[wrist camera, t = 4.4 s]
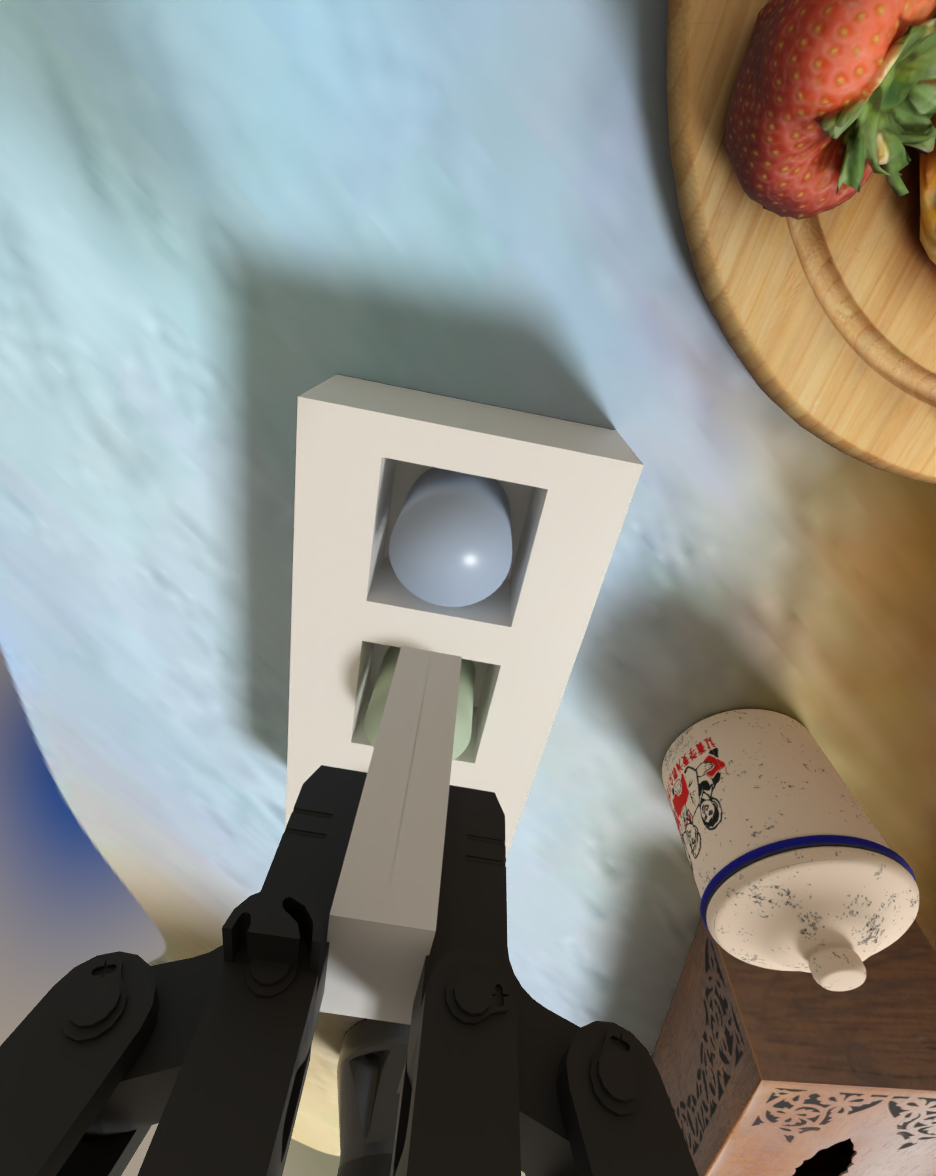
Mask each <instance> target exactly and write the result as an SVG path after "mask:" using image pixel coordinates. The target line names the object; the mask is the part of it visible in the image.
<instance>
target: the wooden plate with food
mask: <svg viewBox="0 0 936 1176" xmlns="http://www.w3.org/2000/svg"><path fill="white" fill-rule="evenodd" d="M667 107H668V131H669V152H670V158H671V164H672V169H673V175H674V181H675V187H676V193H677V199H678V205H679V210H680V216H681V221H682V224H683V228H684V232H685V236H686V240H687V244H688V247H689V251H690V255H691V259H692V263H693V267H694V270H695V273H696V275H697V278H698V281H699V283H700V286H701V288H702V291H703V293H704V296H705V298H706V300H707V302H708V304H709V306H710V308H711V310H712V312H713V314H714V316H715V318H716V320H717V322H718V324H719V326H720V328H721V330H722V332H723V333H724V335H725V337H726V338H727V340H728V342H729V343H730V345H731V347H732V348H733V350H734V352H735V353H736V355H737V356H738V358H739V359H740V360H741V362H742V363H743V365H744V366H745V367H746V369H747V370H748V372H749V373H750V375H751V376H752V377H753V379H754V380H755V382H756V383H757V384H758V386H759V387H760V388H761V389H762V390H763V391H764V393H765V394H766V395H767V396H768V397H769V398H770V399H771V400H772V401H773V402H774V403H776V404H777V405H778V406H779V407H780V408H781V409H782V410H783V411H784V412H786V413H787V414H788V415H789V416H790V417H791V418H792V419H793V420H794V421H796V422H797V423H798V424H799V425H800V426H801V427H803V428H804V429H806V430H807V431H809V432H810V433H812V434H813V435H815V436H816V437H818V438H819V439H821V440H822V441H824V442H825V443H827V444H829V445H830V446H832V447H834V448H836V449H837V450H839V451H841V452H843V453H845V454H847V455H849V456H851V457H853V458H855V459H857V460H860V461H862V462H864V463H866V464H868V465H870V466H873V467H875V468H877V469H880V470H883V471H887V472H890V473H893V474H897V475H900V476H903V477H907V478H910V479H913V480H918V481H922V482H926V483H930V484H936V0H668V10H667Z"/></svg>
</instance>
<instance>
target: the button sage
mask: <svg viewBox="0 0 936 1176" xmlns="http://www.w3.org/2000/svg"><path fill="white" fill-rule="evenodd" d="M400 649H401V648H400V647H394V646H390V647H389V649H388V650H387V651H386V653H385V655H384V657H383V660H382V664H381V667H380V670H379V673H378V677H377V680H376V683H375V686H374V690H373V693H372V696H371V699H370V703H369V706H368V709H367V712H366V716H365V720H364V727H365V733H366V736H367V738H368V740H369V742H370V743H371V745H372V746H373V747H375V743H376V739H377V735H378V732H379V728H380V724H381V720H382V717H383V713H384V709H385V705H386V702H387V698H388V694H389V690H390V687H391V683H392V679H393V675H394V672H395V668H396V664H397V661H398V657H399V653H400ZM474 682H475V668H474V664H473V661H472V660H467V659H461V669H460V680H459V691H458V701H457V712H456V722H455V733H454V744H453V754H452V761H453V760H455V759H456V758H457V757H459V756H460V755H461V754H462V753H463V752H464V751H465V749H466V748H467V746H468V744H469V742H470V739H471V730H472V714H473V698H474Z"/></svg>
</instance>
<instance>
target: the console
mask: <svg viewBox="0 0 936 1176" xmlns="http://www.w3.org/2000/svg"><path fill="white" fill-rule="evenodd" d="M643 466H644V465H643V463H642V462H641V461H640V460H639V458H638V457H637V456H636V455H635V453H634V452H633V451H632V450H631V448H630V447H629V446H628V444H627V443H626V442H625V441H624V439H623V438H622V437H621V436H620V434H619V433H618V432H617V431H616V430H611V429H606V428H601V427H596V426H591V425H586V424H581V423H576V422H571V421H566V420H561V419H556V418H551V417H546V416H541V415H536V414H531V413H526V412H521V411H516V410H511V409H506V408H501V407H496V406H491V405H486V404H481V403H476V402H471V401H466V400H461V399H456V398H451V397H446V396H441V395H436V394H431V393H426V392H421V391H417V390H412V389H407V388H402V387H397V386H392V385H387V384H382V383H377V382H372V381H367V380H362V379H357V378H352V377H347V376H342V375H337V374H336V375H334V376H333V377H331V378H329V379H327V380H326V381H324V382H322V383H320V384H319V385H317V386H315V387H313V388H312V389H310V390H308V391H306V392H305V393H303V394H301V395H299V396H298V404H297V439H296V474H295V509H294V544H293V580H292V615H291V650H290V685H289V721H288V756H287V791H286V826H287V823H288V821H289V818H290V816H291V813H292V812H293V809H294V806H295V803H296V800H297V798H298V795H299V793H300V790H301V788H302V785H303V783H304V782H305V781H306V780H307V779H308V778H309V777H310V776H311V775H312V774H313V773H314V772H315V771H316V770H317V769H318V768H319V767H320V766H321V765H324V766H330V767H336V768H342V769H348V770H354V771H360V772H366V773H368V769H369V765H370V762H371V758H372V754H373V750H374V747H373V746H372V745H371V743H370V742H369V740H368V738H367V736H366V733H365V727H364V720H365V716H366V712H367V709H368V706H369V703H370V699H371V696H372V693H373V690H374V686H375V683H376V680H377V677H378V673H379V670H380V667H381V664H382V660H383V657H384V655H385V653H386V651H387V650H388V649H389V647H390V646H394V647H400V648H401V646H405V647H410V648H416V649H421V650H427V651H433V652H438V653H444V654H450V655H455V656H461V657H462V659H467V660H472V661H473V664H474V668H475V682H474V698H473V714H472V730H471V739H470V742H469V744H468V746H467V748H466V749H465V751H464V752H463V753H462V754H461V755H460V756H459V757H457V758H456V759H455V760H453V761H452V765H451V775H450V785H453V786H459V787H465V788H471V789H477V790H483V791H489V792H495V794H496V797H497V799H498V801H499V803H500V805H501V808H502V810H503V812H504V814H505V846H506V857H507V855H508V852H509V849H510V846H511V843H512V840H513V837H514V835H515V832H516V829H517V826H518V823H519V820H520V817H521V814H522V812H523V809H524V806H525V803H526V800H527V797H528V794H529V792H530V789H531V786H532V783H533V780H534V777H535V774H536V772H537V769H538V766H539V763H540V760H541V757H542V754H543V752H544V749H545V746H546V743H547V740H548V737H549V734H550V732H551V729H552V726H553V723H554V720H555V717H556V714H557V712H558V709H559V706H560V703H561V700H562V697H563V694H564V692H565V689H566V686H567V683H568V680H569V677H570V674H571V671H572V669H573V666H574V663H575V660H576V657H577V654H578V651H579V649H580V646H581V643H582V640H583V637H584V634H585V631H586V629H587V626H588V623H589V620H590V617H591V614H592V611H593V609H594V606H595V603H596V600H597V597H598V594H599V591H600V589H601V586H602V583H603V580H604V577H605V574H606V571H607V569H608V566H609V563H610V560H611V557H612V554H613V551H614V549H615V546H616V543H617V540H618V537H619V534H620V531H621V528H622V526H623V523H624V520H625V517H626V514H627V511H628V508H629V506H630V503H631V500H632V497H633V494H634V491H635V488H636V486H637V483H638V480H639V477H640V474H641V471H642V468H643ZM434 467H436V468H441V469H446V470H451V471H456V472H461V473H466V474H472V475H477V476H482V477H487V478H492V479H496V480H497V481H498V482H499V483H500V485H501V486H502V488H503V489H504V491H505V493H506V495H507V498H508V501H509V505H510V517H511V537H512V561H511V566H510V569H509V572H508V574H507V576H506V578H505V580H504V581H503V583H502V584H501V586H500V587H499V588H498V589H497V590H496V591H495V592H494V593H492V594H491V595H490V596H488V597H487V598H485V599H483V600H481V601H479V602H477V603H474V604H471V605H467V606H461V607H445V606H439V605H435V604H432V603H429V602H426V601H424V600H422V599H420V598H418V597H417V596H415V595H414V594H412V593H411V592H410V591H409V590H408V589H406V587H405V586H404V585H403V584H402V583H401V582H400V580H399V579H398V578H397V576H396V574H395V572H394V570H393V567H392V565H391V561H390V556H389V542H390V537H391V534H392V531H393V528H394V526H395V523H396V521H397V519H398V516H399V514H400V512H401V509H402V507H403V505H404V502H405V500H406V498H407V495H408V493H409V491H410V489H411V487H412V486H413V484H414V483H415V481H416V480H417V479H418V478H419V477H420V476H421V475H422V474H424V473H425V472H426V471H428V470H430V469H432V468H434ZM286 826H285V830H286Z"/></svg>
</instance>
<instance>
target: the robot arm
mask: <svg viewBox="0 0 936 1176" xmlns="http://www.w3.org/2000/svg"><path fill="white" fill-rule="evenodd" d="M461 659H462V657H461V656H455V655H450V654H444V653H438V652H433V651H427V650H421V649H416V648H410V647H405V646H401V649H400V653H399V657H398V661H397V664H396V668H395V672H394V675H393V679H392V683H391V687H390V690H389V694H388V698H387V702H386V705H385V709H384V713H383V717H382V720H381V724H380V728H379V732H378V735H377V739H376V743H375V747H374V750H373V754H372V758H371V762H370V765H369V769H368V773H366V772H360V771H354V770H348V769H342V768H336V767H330V766H324V765H321V766H320V767H319V768H318V769H317V770H316V771H315V772H314V773H313V774H312V775H311V776H310V777H309V778H308V779H307V780H306V781H305V782H304V783H303V785H302V788H301V790H300V793H299V795H298V798H297V800H296V803H295V806H294V809H293V812H292V813H291V816H290V818H289V821H288V823H287V826H286V830H285V833H284V834H283V836H282V839H281V841H280V844H279V846H278V849H277V851H276V854H275V857H274V859H273V862H272V864H271V867H270V869H269V872H268V874H267V877H266V879H265V882H264V885H263V887H262V890H261V892H259V893H256V894H254V895H251V896H250V897H248V898H247V899H246V900H245V901H244V902H242V903H241V904H240V905H239V906H237V907H236V908H235V909H234V910H233V912H232V913H231V915H230V916H229V918H228V919H227V921H226V923H225V924H224V926H223V927H222V934H223V945H222V946H220V947H218V948H217V949H215V950H213V951H211V952H209V953H206V954H203V955H200V956H197V957H194V958H189V959H184V960H179V961H174V962H169V963H164V964H159V965H154V966H150V965H149V964H147V963H146V962H145V961H144V960H143V959H142V958H141V957H139V956H138V955H135V954H129V953H124V952H114V953H109V954H104V955H99V956H96V957H94V958H92V959H90V960H88V961H86V962H84V963H82V964H80V965H79V966H77V967H75V968H74V969H72V970H71V971H70V972H69V973H68V974H67V975H66V976H64V977H63V978H62V979H61V980H60V981H59V982H58V983H57V984H55V985H54V986H53V987H52V989H51V990H50V991H49V992H48V993H47V994H46V995H45V996H44V997H43V999H42V1000H41V1001H40V1002H39V1003H38V1004H37V1005H36V1007H35V1008H34V1009H33V1010H32V1011H31V1012H30V1013H29V1014H28V1016H27V1017H26V1018H25V1019H24V1020H23V1021H22V1023H20V1025H19V1026H18V1027H17V1028H16V1029H15V1030H14V1032H13V1033H12V1034H11V1035H10V1036H9V1037H8V1038H7V1039H6V1041H5V1042H4V1043H3V1044H2V1045H1V1046H0V1176H121V1175H122V1173H123V1171H124V1170H125V1168H126V1166H127V1165H128V1163H129V1161H130V1160H131V1158H132V1157H133V1155H134V1153H135V1152H136V1150H137V1148H138V1147H139V1145H140V1144H141V1142H142V1140H143V1139H144V1137H145V1135H146V1134H147V1132H148V1130H149V1129H150V1127H151V1125H153V1124H157V1123H159V1124H158V1126H157V1129H156V1131H155V1134H154V1136H153V1139H152V1141H151V1144H150V1146H149V1149H148V1151H147V1153H146V1156H145V1159H144V1161H143V1163H142V1166H141V1168H140V1171H139V1173H138V1176H282V1174H283V1169H284V1165H285V1161H286V1157H287V1152H288V1149H289V1144H290V1140H291V1136H292V1132H293V1128H294V1124H295V1119H296V1115H297V1111H298V1107H299V1103H300V1099H301V1094H302V1090H303V1086H304V1082H305V1078H306V1074H307V1069H308V1065H309V1061H310V1053H311V1044H312V1040H313V1036H314V1032H315V1027H316V1023H317V1019H318V1015H319V1012H325V1013H332V1014H339V1015H346V1016H353V1017H360V1018H367V1019H368V1020H365V1021H362V1022H360V1023H358V1024H356V1025H355V1026H353V1027H352V1028H351V1029H350V1030H349V1031H348V1032H347V1033H346V1034H345V1036H344V1038H343V1042H342V1047H341V1052H340V1057H339V1062H338V1069H337V1082H338V1104H339V1127H340V1149H341V1154H340V1163H339V1169H338V1175H337V1176H521V1171H523V1172H524V1173H525V1175H526V1176H699V1175H698V1172H697V1170H696V1167H695V1164H694V1162H693V1159H692V1157H691V1154H690V1151H689V1149H688V1146H687V1144H686V1141H685V1138H684V1136H683V1133H682V1131H681V1128H680V1125H679V1123H678V1120H677V1118H676V1115H675V1112H674V1110H673V1107H672V1105H671V1102H670V1099H669V1097H668V1094H667V1092H666V1089H665V1086H664V1084H663V1081H662V1079H661V1076H660V1073H659V1071H658V1069H657V1067H656V1065H655V1063H654V1062H653V1060H652V1058H651V1056H650V1054H649V1052H648V1050H647V1049H646V1048H645V1047H644V1046H643V1045H642V1044H641V1043H640V1041H639V1040H638V1039H637V1038H636V1037H635V1036H634V1035H633V1034H632V1033H631V1032H629V1031H627V1030H626V1029H624V1028H622V1027H620V1026H618V1025H617V1024H615V1023H611V1022H601V1021H595V1022H593V1023H590V1024H588V1025H586V1026H584V1027H581V1028H580V1027H578V1026H577V1025H575V1024H573V1023H571V1022H569V1021H568V1020H566V1019H564V1018H562V1017H561V1016H559V1015H557V1014H555V1013H553V1012H552V1011H550V1010H548V1009H546V1008H545V1007H543V1006H542V1005H540V1004H539V1003H538V1002H536V1001H535V1000H534V999H532V998H531V996H530V995H529V994H528V993H527V992H526V991H525V990H524V989H523V988H522V986H521V985H520V983H519V981H518V980H517V978H516V976H515V974H514V972H513V969H512V966H511V964H510V961H509V955H508V947H507V901H506V867H505V863H506V846H505V814H504V812H503V810H502V808H501V805H500V803H499V801H498V799H497V797H496V794H495V792H489V791H483V790H477V789H471V788H465V787H459V786H453V785H450V775H451V765H452V754H453V744H454V733H455V722H456V712H457V701H458V691H459V680H460V669H461Z"/></svg>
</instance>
